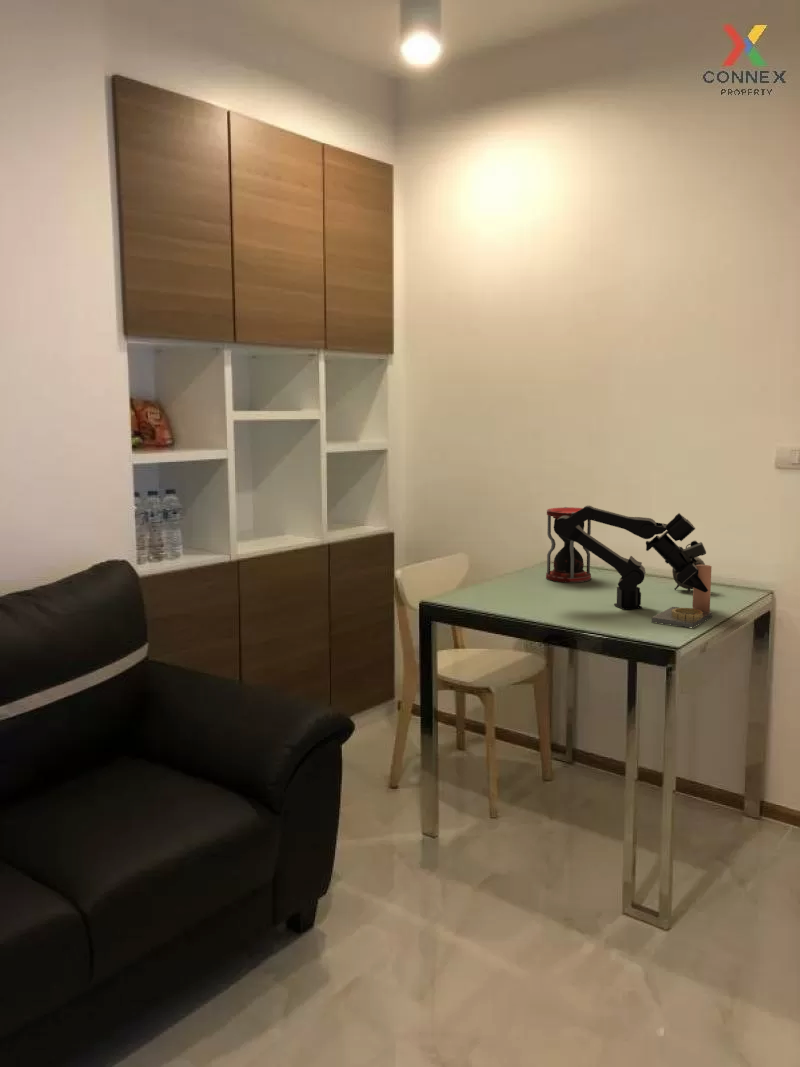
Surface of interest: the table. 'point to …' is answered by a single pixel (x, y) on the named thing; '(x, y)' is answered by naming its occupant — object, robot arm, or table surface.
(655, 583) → the table surface
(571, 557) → the hourglass
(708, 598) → the orange tapered capsule
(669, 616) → the plate
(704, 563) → the alarm clock
